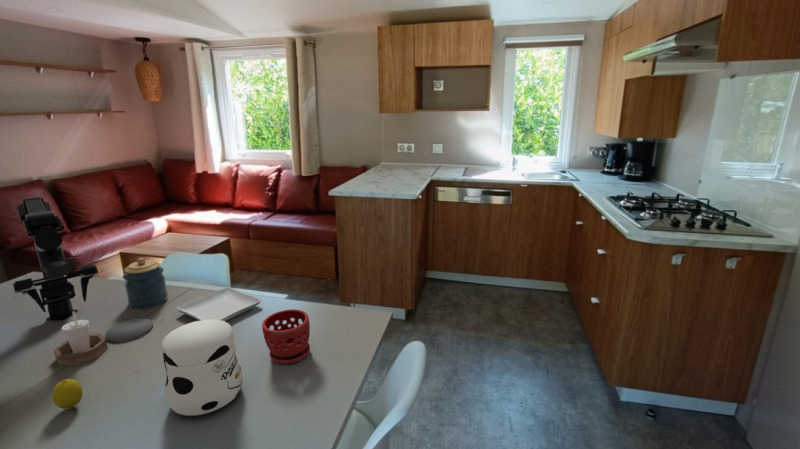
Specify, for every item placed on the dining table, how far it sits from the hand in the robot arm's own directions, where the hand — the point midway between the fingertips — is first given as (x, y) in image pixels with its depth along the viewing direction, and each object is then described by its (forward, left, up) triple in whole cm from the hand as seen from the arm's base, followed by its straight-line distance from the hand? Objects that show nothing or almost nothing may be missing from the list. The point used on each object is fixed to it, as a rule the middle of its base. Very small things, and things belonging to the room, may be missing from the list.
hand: (65, 306), depth 117 cm
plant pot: (+8, +65, -15) cm, 67 cm away
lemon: (+26, +16, -15) cm, 34 cm away
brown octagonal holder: (+2, +3, -15) cm, 15 cm away
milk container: (+25, +48, -15) cm, 56 cm away
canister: (-32, +5, -15) cm, 36 cm away
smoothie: (+2, +3, -15) cm, 15 cm away
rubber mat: (-10, +10, -15) cm, 20 cm away
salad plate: (-22, +35, -15) cm, 44 cm away
